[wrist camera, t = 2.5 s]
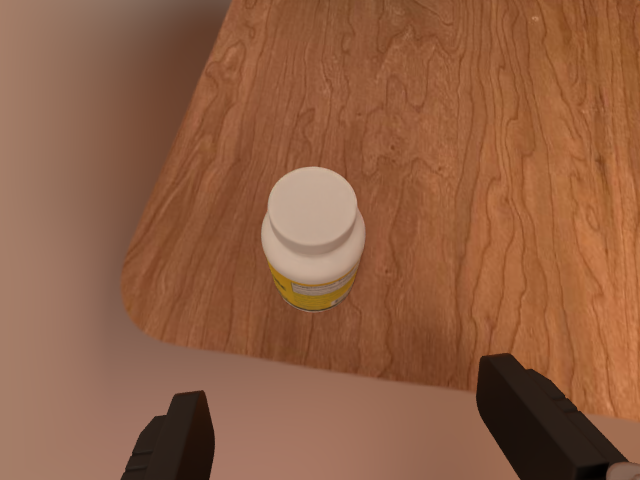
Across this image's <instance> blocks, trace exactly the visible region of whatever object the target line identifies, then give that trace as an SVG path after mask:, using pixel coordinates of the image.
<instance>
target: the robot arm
mask: <svg viewBox="0 0 640 480" xmlns="http://www.w3.org/2000/svg"><path fill="white" fill-rule="evenodd" d="M476 401H477V407H478V410H479V413H480V416H481V418H482V420H483V421H484V423H485V424H486V426H487V428H488V429H489V431H490V433H491V434H492V436H493V437H494V439H495V440H496V442H497V444H498V445H499V447H500V448H501V450H502V451H503V453H504V455H505V456H506V458H507V459H508V461H509V463H510V464H511V466H512V467H513V469H514V471H515V472H516V473H517V475H518V477H519V478H520V480H640V464H637V463H632V462H629V461H628V460H627V459H626V458H625V457H624V456H623V455H622V454H621V453H620V452H619V451H618V450H617V449H616V448H615V447H614V446H613V445H612V443H611V442H610V441H609V440H608V439H607V438H606V437H605V436H604V435H603V434H602V433H601V432H600V431H599V430H598V429H597V428H596V427H595V426H594V425H593V424H592V423H591V422H590V421H589V420H588V419H587V418H586V416H585V415H584V414H583V413H582V412H581V411H578V410H577V407H576V406H575V405H574V404H573V403H572V402H571V401H570V400H569V399H568V398H566V397H565V395H564V394H563V393H562V392H561V391H560V390H559V389H558V387H557V386H556V385H555V384H554V383H553V382H552V381H551V380H549V379H547V378H546V377H544V376H543V375H541V374H539V373H538V372H536V371H534V370H533V369H526V370H525V369H524V367H523V366H522V365H521V364H520V363H519V362H518V361H517V360H516V359H515V358H514V356H512V355H511V354H509V353H502V354H494V355H486V356H482V357H481V358H480V362H479V372H478V383H477V393H476ZM214 449H215V436H214V429H213V425H212V421H211V416H210V412H209V407H208V403H207V399H206V395H205V392H204V391H203V390H201V391H194V392H185V393H178V394H175V395H174V397H173V399H172V401H171V404H170V407H169V409H168V412H167V415H163V416H155V417H154V418H153V419H152V421H151V422H150V423H149V424H148V425H147V426H146V427H145V429H144V430H143V431H142V432H141V434H140V435H139V438H138V440H137V442H136V445H135V447H134V449H133V452H132V456H130V459H129V461H128V464H127V466H126V468H125V472H124V473H123V475H122V478H121V480H209V478H210V473H211V468H212V463H213V457H214Z"/></svg>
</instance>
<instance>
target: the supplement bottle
mask: <svg viewBox="0 0 640 480" xmlns="http://www.w3.org/2000/svg"><path fill="white" fill-rule="evenodd" d="M365 236H366V231H365V224H364V220H363V217H362V215H361V213H360V211H359V209H358V207H357V199H356V195H355V193H354V190H353V188H352V187H351V185H350V184H349V183H348V182H347V181H346V180H345V179H344V178H343V177H342V176H341V175H339V174H338V173H336V172H334V171H332V170H329V169H326V168H321V167H303V168H299V169H296V170H294V171H291V172H289V173H288V174H286V175H284V176H283V177H282V178H281V179H280V180H279V181H278V182H277V183H276V184H275V186H274V187H273V189H272V191H271V193H270V196H269V200H268V211H267V213H266V215H265V217H264V220H263V224H262V229H261V240H262V245H263V250H264V253H265V256H266V259H267V261H268V264H269V268H270V271H271V273H272V276H273V279H274V282H275V285H276V287H277V289H278V291H279V293H280V295H281V296H282V297H283V299H284V300H285V301H286V302H287V303H289V304H290V305H291V306H293V307H295V308H297V309H299V310H302V311H306V312H322V311H327V310H329V309H332V308H334V307H336V306H337V305H339V304H340V303H341V302H342V301H343V300H344V299H345V298H346V297H347V295H348V294H349V292H350V290H351V288H352V286H353V283H354V280H355V276H356V273H357V270H358V266H359V262H360V259H361V255H362V252H363V249H364V244H365Z"/></svg>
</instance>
